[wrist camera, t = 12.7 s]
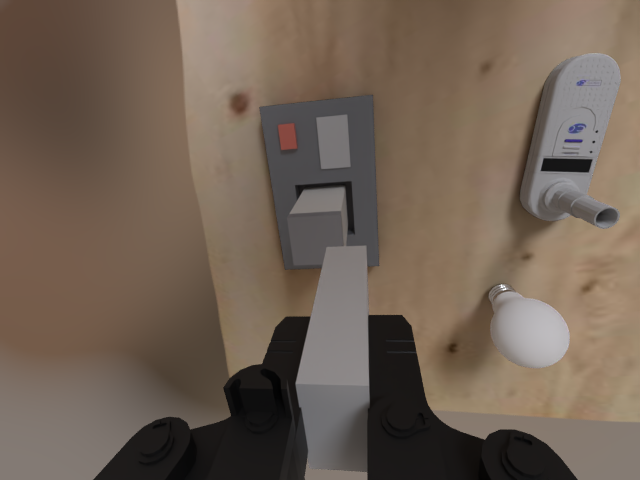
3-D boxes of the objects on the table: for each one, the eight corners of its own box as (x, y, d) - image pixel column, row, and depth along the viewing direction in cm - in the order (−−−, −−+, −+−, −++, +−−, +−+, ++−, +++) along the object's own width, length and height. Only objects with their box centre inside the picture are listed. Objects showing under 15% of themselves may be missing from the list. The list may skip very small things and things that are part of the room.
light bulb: (515, 256, 38) (570, 313, 28) (537, 299, 40) (596, 367, 30) (459, 282, 40) (492, 344, 30) (483, 322, 42) (521, 393, 32)
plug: (304, 187, 38) (286, 217, 28) (345, 184, 37) (340, 214, 28) (309, 225, 39) (293, 265, 30) (348, 223, 39) (344, 263, 30)
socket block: (264, 106, 35) (258, 107, 33) (372, 94, 34) (373, 94, 31) (288, 261, 42) (284, 271, 40) (378, 258, 40) (379, 268, 38)
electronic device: (713, 35, 22) (632, 251, 27) (610, 56, 31) (565, 215, 36) (622, 36, 22) (561, 247, 28) (547, 57, 31) (512, 213, 37)
